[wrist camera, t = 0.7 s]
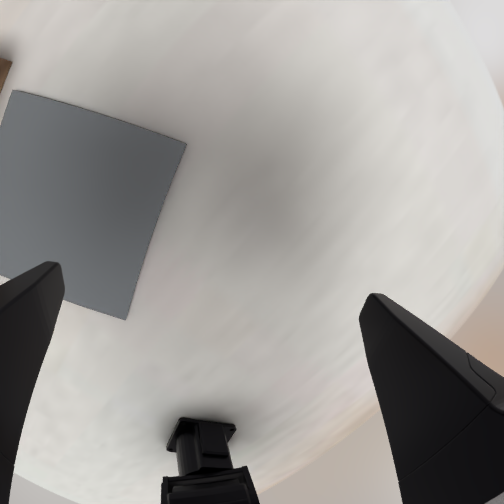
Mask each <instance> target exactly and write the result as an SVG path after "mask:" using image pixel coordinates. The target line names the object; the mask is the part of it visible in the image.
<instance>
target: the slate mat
mask: <svg viewBox="0 0 504 504" xmlns="http://www.w3.org/2000/svg"><path fill="white" fill-rule="evenodd" d="M186 145H187V144H185V143H182V142H180V141H177V140H174V139H172V138H169V137H166V136H163V135H161V134H158V133H155V132H152V131H150V130H147V129H144V128H141V127H138V126H135V125H132V124H129V123H126V122H123V121H120V120H117V119H114V118H111V117H108V116H105V115H102V114H99V113H95V112H92V111H89V110H86V109H82V108H79V107H76V106H72V105H69V104H65V103H62V102H58V101H55V100H51V99H47V98H44V97H40V96H36V95H32V94H28V93H24V92H20V91H16V90H12V93H11V96H10V99H9V101H8V104H7V107H6V110H5V113H4V117H3V120H2V123H1V126H0V275H2V276H4V277H6V278H9V279H13V278H15V277H17V276H19V275H20V274H22V273H24V272H26V271H28V270H30V269H32V268H34V267H36V266H38V265H40V264H42V263H44V262H46V261H53V262H58V263H60V265H61V268H62V273H63V279H64V284H65V294H64V297H63V300H65V301H68V302H71V303H74V304H77V305H80V306H83V307H86V308H89V309H92V310H95V311H98V312H101V313H104V314H107V315H110V316H113V317H117V318H120V319H123V320H126V318H127V314H128V310H129V307H130V303H131V300H132V296H133V293H134V290H135V286H136V283H137V280H138V276H139V273H140V270H141V267H142V264H143V260H144V257H145V254H146V251H147V248H148V245H149V242H150V239H151V236H152V233H153V231H154V228H155V225H156V222H157V219H158V216H159V214H160V211H161V208H162V205H163V203H164V200H165V197H166V195H167V192H168V190H169V187H170V184H171V182H172V179H173V177H174V174H175V172H176V169H177V167H178V164H179V162H180V159H181V157H182V154H183V152H184V150H185V147H186Z"/></svg>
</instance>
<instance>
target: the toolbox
mask: <svg viewBox="0 0 504 504" xmlns="http://www.w3.org/2000/svg"><path fill="white" fill-rule="evenodd" d="M11 64H12V62H11V61H8V60H5V59H3V58H0V93H1V90H2V87H3V84H4V82H5V79H6V76H7V74H8V71H9V69H10V67H11Z"/></svg>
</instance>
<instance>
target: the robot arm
mask: <svg viewBox="0 0 504 504" xmlns="http://www.w3.org/2000/svg"><path fill="white" fill-rule="evenodd" d="M64 294H65V284H64V279H63V273H62V268H61V265H60V263H58V262H53V261H46V262H44V263H42V264H40V265H38V266H36V267H34V268H32V269H30V270H28V271H26V272H24V273H22V274H20V275H19V276H17V277H15V278H13V279H11V280H9V281H7V282H6V283H4V284H2V285H0V504H9V496H10V489H11V482H12V477H13V471H14V464H15V460H16V455H17V450H18V445H19V441H20V437H21V433H22V429H23V425H24V421H25V417H26V413H27V410H28V406H29V403H30V400H31V396H32V393H33V390H34V387H35V383H36V380H37V377H38V374H39V371H40V368H41V366H42V363H43V360H44V357H45V354H46V352H47V349H48V346H49V344H50V341H51V338H52V335H53V331H54V328H55V324H56V321H57V317H58V314H59V310H60V307H61V304H62V301H63V297H64ZM359 323H360V328H361V332H362V337H363V342H364V347H365V353H366V357H367V362H368V366H369V369H370V373H371V376H372V380H373V383H374V387H375V390H376V394H377V397H378V401H379V404H380V408H381V412H382V415H383V419H384V423H385V427H386V430H387V435H388V439H389V443H390V447H391V451H392V455H393V459H394V464H395V468H396V473H397V477H398V481H399V482H398V483H399V488H400V492H401V497H402V502H403V504H504V377H502V376H501V375H499V374H498V373H496V372H495V371H493V370H492V369H490V368H489V367H487V366H486V365H484V364H483V363H482V362H480V361H478V360H477V359H475V358H474V357H473V356H472V355H470V354H469V353H466V352H465V350H463V349H462V348H460V347H459V346H458V345H456V344H455V343H453V342H452V341H451V340H449V339H448V338H446V337H445V336H444V335H442V334H441V333H439V332H438V331H436V330H435V329H434V328H432V327H431V326H429V325H428V324H426V323H425V322H423V321H422V320H421V319H419V318H418V317H416V316H415V315H413V314H412V313H410V312H409V311H407V310H406V309H404V308H403V307H402V306H400V305H399V304H397V303H396V302H394V301H393V300H391V299H390V298H388V297H387V296H385V295H384V294H381V293H371V294H369V296H368V297H367V299H366V301H365V304H364V306H363V308H362V310H361V312H360V316H359ZM235 431H236V426H235V425H232V424H222V423H214V422H206V421H199V420H193V419H186V418H181V419H179V421H178V423H177V425H176V427H175V429H174V431H173V434H172V436H171V438H170V440H169V442H168V444H167V451H170V452H176V453H177V462H178V471H179V476H176V477H168V476H166V477H163V483H162V484H161V504H260V503H259V500H258V496H257V493H256V490H255V488H254V485H253V482H252V479H251V476H250V473H249V470H248V467H247V466H242V467H241V468H236V469H233V465H232V461H231V457H230V452H229V448H228V444H227V443H228V441H229V440H230V438H231V437H232V435H233V434H234V432H235Z"/></svg>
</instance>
